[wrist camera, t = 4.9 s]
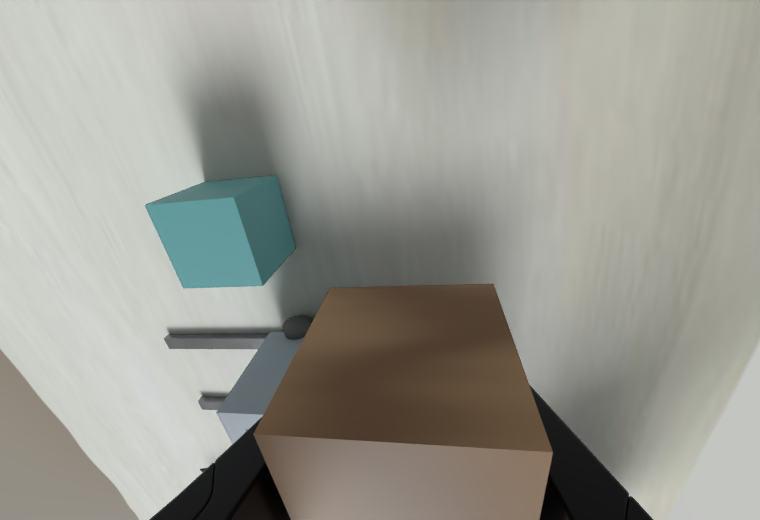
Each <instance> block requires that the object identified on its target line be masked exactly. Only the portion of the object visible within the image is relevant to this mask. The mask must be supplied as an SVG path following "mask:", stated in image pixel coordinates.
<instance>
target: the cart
mask: <svg viewBox="0 0 760 520" xmlns="http://www.w3.org/2000/svg"><path fill="white" fill-rule="evenodd" d="M310 325H311V322H310V319H309V318H308V317H307V316H304V315H299V316H294V317H292V318H290V319H288V320H287V321H286V322H285V323H284V324H283V331H284V332H270V333H269V334H268V336H267V337H266V339H265V340H264V342H263V343H262V345H261V346H260V348H259V349H258V351H257V352H256V354H255V355H254V357H253V358H252V360H251V361H250V363H249V364H248V366H247V367H246V369H245V370H244V372H243V373H242V375H241V376H240V378H239V379H238V381H237V382H236V384H235V385H234V387H233V388H232V390H231V391H230V393H229V394H228V396H227V397H226V399H225V400H224V402H223V403H222V405H221V406H220V408H219V409H218V411H217V412H216V413H217V415H218V417H219V419H220V421H221V423H222V425H223V426H224V428H225V430H226V432H227V434H228V436H229V438H230V440H231V442H232V444H234V443H235V442H236V441H237V440H238V439H239V438H240V437H241V436H242V435H243V434H244V433H245V432H246V431H247V430H248V429H249V428H250V427H252V426H253V425H254V424H255V423H256V422H257V421H258V420H259V419H260V418H261V417H262V416H263V415H264V413H265V411H266V409H267V407H268V405H269V403H270V401H271V399H272V398H273V396H274V394H275V392H276V390H277V388H278V386H279V384H280V382H281V380H282V379H283V377H284V375H285V373H286V371H287V369H288V367H289V365H290V363H291V361H292V360H293V358H294V356H295V354H296V352H297V350H298V348H299V346H300V344H301V342H302V341H303V339H304V337H305V335H306V333H307V331H308V329H309V327H310Z"/></svg>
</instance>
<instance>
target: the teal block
mask: <svg viewBox="0 0 760 520" xmlns="http://www.w3.org/2000/svg"><path fill="white" fill-rule="evenodd" d="M145 207H146V209H147V211H148V213H149V215H150V218H151V220H152V222H153V224H154V226H155V228H156V230H157V233H158V235H159V237H160V239H161V241H162V243H163V246H164V248H165V250H166V252H167V254H168V256H169V258H170V261H171V263H172V265H173V267H174V269H175V271H176V274H177V276H178V278H179V280H180V282H181V284H182V286H183V288H211V287H243V286H263V285H264V284H265V283H266V282H267V281H268V279H269V278H270V277H271V276H272V275H273V274H274V272H275V271H276V270H277V269H278V268H279V267H280V266H281V264H282V263H283V262H284V261H285V260H286V259H287V258H288V256H289V255H290V254H291V253H292V252H293V251H294V249H295V248H296V247H295V244H294V240H293V236H292V232H291V228H290V224H289V221H288V217H287V213H286V209H285V205H284V201H283V197H282V194H281V190H280V186H279V182H278V178H277V175H271V176H261V177H250V178H240V179H230V180H219V181H209V182H203V183H201V184H198V185H195V186H193V187H190V188H188V189H185V190H182V191H180V192H177V193H175V194H172V195H169V196H167V197H164V198H161V199H159V200H156V201H154V202H151V203H148V204H146V205H145Z"/></svg>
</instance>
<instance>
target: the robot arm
mask: <svg viewBox="0 0 760 520" xmlns="http://www.w3.org/2000/svg"><path fill="white" fill-rule="evenodd" d="M529 386H530V385H529ZM530 389H531V392H532V394H533V397H534V400H535V403H536V406H537V409H538V411H539V414H540V417H541V420H542V423H543V426H544V428H545V431H546V434H547V437H548V440H549V442H550V445H551V448H552V451H553V455H552V460H551V465H550V470H549V475H548V480H547V484H546V489H545V494H544V499H543V504H542V509H541V514H540V519H539V520H653V519H652V518H651V517H650V515H649V514H648V513H647V512H646V511H645V510H644V509H643V508H642V507H641V506H640V505H639V503H638V502H637V501H636V500H635V499H634V498H633V497H631V496H630V497H629V493H628V492H627V491H626V489H625V488H624V487H623V486H622V485H621V484H620V483H619V482H618V481H617V480H616V479H615V477H614V476H613V475H612V474H611V473H610V472H609V471H608V470H607V469H606V468H605V467H604V465H603V464H602V463H601V462H600V461H599V460H598V459H597V458H596V457H595V456H594V455H593V453H592V452H591V451H590V450H589V449H588V448H587V447H586V446H585V445H584V444H583V443H582V441H581V440H580V439H579V438H578V437H577V436H576V435H575V434H574V433H573V432H572V431H571V430H570V428H569V427H568V426H567V425H566V424H565V423H564V422H563V421H562V420H561V419H560V418H559V416H558V415H557V414H556V413H555V412H554V411H553V410H552V409H551V408H550V407H549V406H548V404H547V403H546V402H545V401H544V400H543V399H542V398H541V397H540V396H539V395H538V394H537V392H536V391H535V390H534V389H533V388H532V387H531V386H530ZM262 417H263V416H262ZM262 417H261V418H260V419H259V420H258V421H257V422H256V423H255V424H254V425H253V426H252V427H250V428H249V429H248V430H247V431H246V432H245V433H244V434H243V435H242V436H241V437H240V438H239V439H238V440H237V441H236V442H235V443H234V444H233V445H231V446H230V447H229V448H228V449H227V450H226V451H225V452H224V453H223V454H222V455H221V456H220V457H219V458H218V459H217V460H216V461H215V463H212V464H211V465H210V466H209V467H208V468H207V469H206V470H205V471H204V472H203V473H202V474H201V475H200V476H198V477H197V478H196V479H195V480H194V481H193V482H192V483H191V484H190V485H189V486H188V487H186V488H185V489H184V490H183V491H182V492H181V493H180V494H179V495H178V496H177V497H175V498H174V499H173V500H172V501H171V502H170V503H168V504H167V505H166V506H165V507H164V508H162V509H161V510H160V511H159V512H158V513H157V514H155V515H154V516H153V517H152V518H151V519H150V520H291V519H290V516H289V514H288V512H287V510H286V507H285V505H284V503H283V500H282V498H281V496H280V494H279V491H278V489H277V487H276V485H275V482H274V480H273V478H272V476H271V473H270V471H269V469H268V466H267V464H266V462H265V460H264V457H263V455H262V453H261V451H260V448H259V446H258V444H257V442H256V439H255V437H254V435H253V434H254V432H255V430H256V428H257V426H258V424H259V422H260V420H261V419H262Z"/></svg>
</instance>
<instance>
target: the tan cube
mask: <svg viewBox="0 0 760 520" xmlns="http://www.w3.org/2000/svg"><path fill="white" fill-rule="evenodd" d="M253 435H254V437H255V439H256V442H257V444H258V446H259V448H260V451H261V453H262V455H263V457H264V460H265V462H266V464H267V466H268V469H269V471H270V473H271V476H272V478H273V480H274V482H275V485H276V487H277V489H278V491H279V494H280V496H281V498H282V500H283V503H284V505H285V507H286V510H287V512H288V514H289V516H290V519H291V520H539V519H540V514H541V509H542V504H543V499H544V494H545V489H546V484H547V480H548V475H549V470H550V465H551V460H552V455H553V451H552V448H551V445H550V442H549V440H548V437H547V434H546V431H545V428H544V426H543V423H542V420H541V417H540V414H539V411H538V409H537V406H536V403H535V400H534V397H533V394H532V392H531V389H530V386H529V383H528V380H527V377H526V375H525V372H524V369H523V366H522V363H521V360H520V358H519V355H518V352H517V349H516V346H515V344H514V341H513V338H512V335H511V332H510V329H509V327H508V324H507V321H506V318H505V315H504V312H503V310H502V307H501V304H500V301H499V298H498V295H497V293H496V290H495V287H494V284H466V285H427V286H388V287H349V288H330V289H329V291H328V293H327V295H326V297H325V299H324V301H323V302H322V304H321V306H320V308H319V310H318V312H317V314H316V316H315V318H314V320H313V322H312V323H311V325H310V327H309V329H308V331H307V333H306V335H305V337H304V339H303V341H302V342H301V344H300V346H299V348H298V350H297V352H296V354H295V356H294V358H293V360H292V361H291V363H290V365H289V367H288V369H287V371H286V373H285V375H284V377H283V379H282V380H281V382H280V384H279V386H278V388H277V390H276V392H275V394H274V396H273V398H272V399H271V401H270V403H269V405H268V407H267V409H266V411H265V413H264V415H263V417H262V419H261V420H260V422H259V424H258V426H257V428H256V430H255V432H254V434H253Z"/></svg>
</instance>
